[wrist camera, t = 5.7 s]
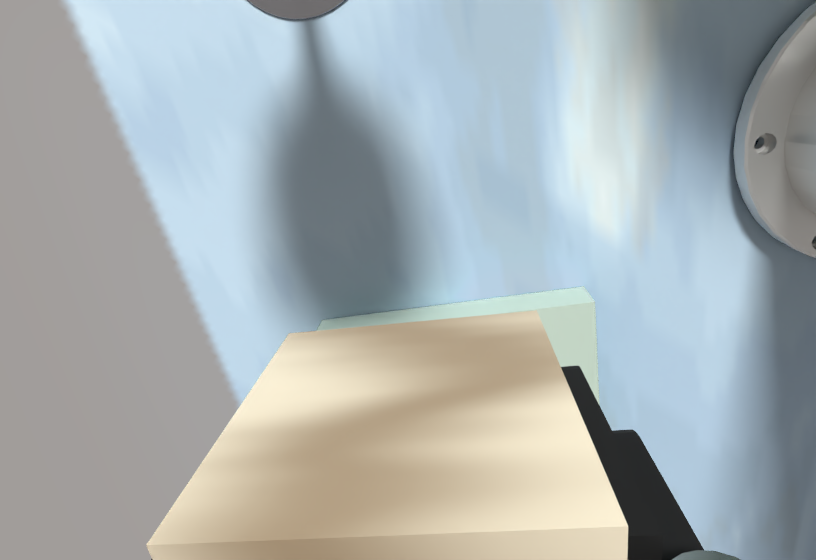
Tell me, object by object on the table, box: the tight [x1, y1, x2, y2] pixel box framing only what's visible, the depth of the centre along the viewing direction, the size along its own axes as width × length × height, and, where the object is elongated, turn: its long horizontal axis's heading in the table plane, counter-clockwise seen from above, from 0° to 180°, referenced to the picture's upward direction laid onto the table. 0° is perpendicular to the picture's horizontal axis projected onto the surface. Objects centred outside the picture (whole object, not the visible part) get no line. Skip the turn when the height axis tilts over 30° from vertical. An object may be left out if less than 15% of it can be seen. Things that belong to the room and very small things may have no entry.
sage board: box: [316, 286, 599, 404], centre depth 26 cm, size 14×10×2 cm
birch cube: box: [146, 310, 628, 560], centre depth 8 cm, size 5×5×5 cm
